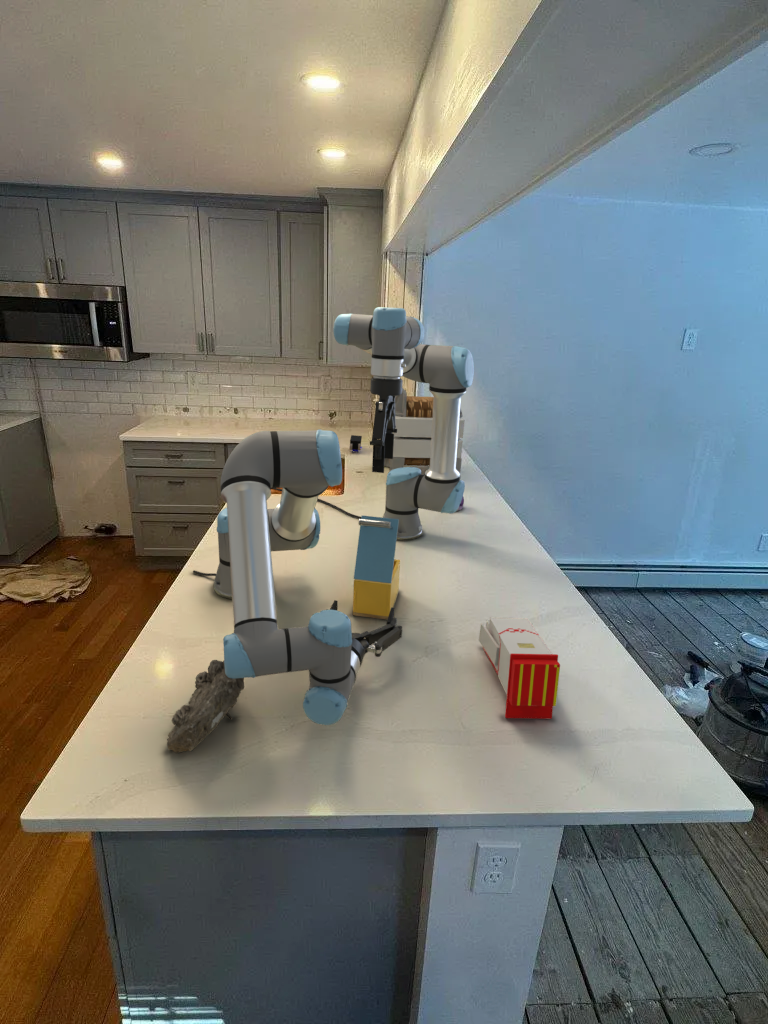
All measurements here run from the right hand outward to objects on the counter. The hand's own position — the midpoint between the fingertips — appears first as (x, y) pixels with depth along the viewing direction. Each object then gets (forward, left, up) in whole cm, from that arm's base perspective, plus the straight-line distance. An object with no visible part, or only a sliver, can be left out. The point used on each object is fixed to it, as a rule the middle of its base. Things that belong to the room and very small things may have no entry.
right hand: (382, 465), depth 140 cm
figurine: (-41, +74, -38) cm, 93 cm away
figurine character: (-137, +99, -38) cm, 173 cm away
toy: (+43, +2, -38) cm, 58 cm away
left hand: (+12, -14, -30) cm, 35 cm away
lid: (+3, -3, -21) cm, 21 cm away
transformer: (-86, +99, -38) cm, 136 cm away
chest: (0, 0, -38) cm, 38 cm away
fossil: (+16, -54, -38) cm, 68 cm away
